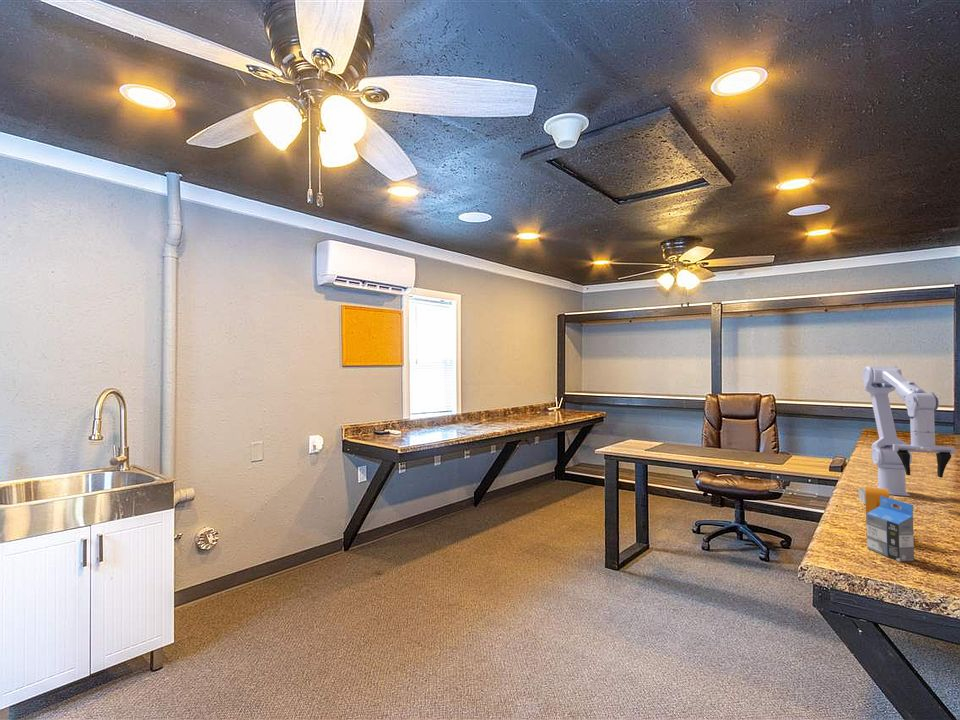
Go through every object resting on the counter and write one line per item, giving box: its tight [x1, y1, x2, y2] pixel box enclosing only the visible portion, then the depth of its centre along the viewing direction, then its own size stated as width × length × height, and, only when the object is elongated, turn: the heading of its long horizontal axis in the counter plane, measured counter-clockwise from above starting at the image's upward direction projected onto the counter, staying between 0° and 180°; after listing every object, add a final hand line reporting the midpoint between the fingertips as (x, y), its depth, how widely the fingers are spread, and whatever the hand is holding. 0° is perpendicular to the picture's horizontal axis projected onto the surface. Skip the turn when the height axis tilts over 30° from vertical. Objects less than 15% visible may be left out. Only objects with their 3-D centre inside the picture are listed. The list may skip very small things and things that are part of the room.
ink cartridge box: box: [865, 496, 915, 563], centre depth 117 cm, size 9×4×12 cm, turn 4°
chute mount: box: [858, 487, 894, 507], centre depth 164 cm, size 10×7×4 cm
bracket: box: [865, 486, 890, 535], centre depth 130 cm, size 11×7×12 cm, turn 142°
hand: (923, 475), depth 159 cm, fingers open, 7 cm apart
